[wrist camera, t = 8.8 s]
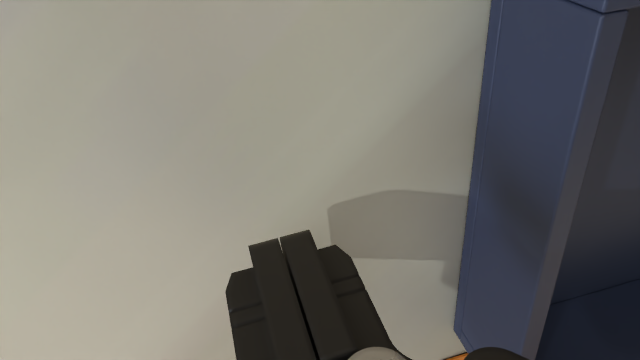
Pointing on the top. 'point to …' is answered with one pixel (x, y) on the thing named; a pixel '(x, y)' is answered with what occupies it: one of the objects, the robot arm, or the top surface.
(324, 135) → the top surface
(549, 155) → the dark blue tray
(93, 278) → the top surface
